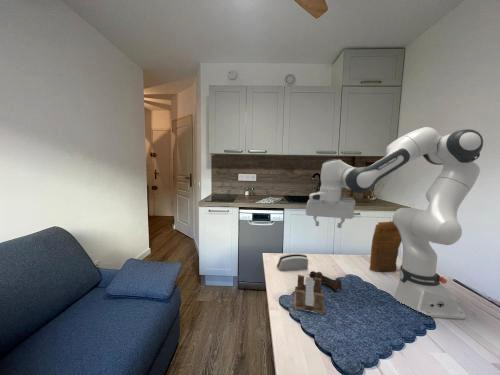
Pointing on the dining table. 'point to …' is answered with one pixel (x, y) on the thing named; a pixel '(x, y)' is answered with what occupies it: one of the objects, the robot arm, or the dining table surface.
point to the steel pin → (309, 292)
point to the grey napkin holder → (293, 261)
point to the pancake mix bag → (385, 247)
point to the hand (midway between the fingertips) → (328, 226)
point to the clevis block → (301, 293)
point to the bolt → (327, 280)
